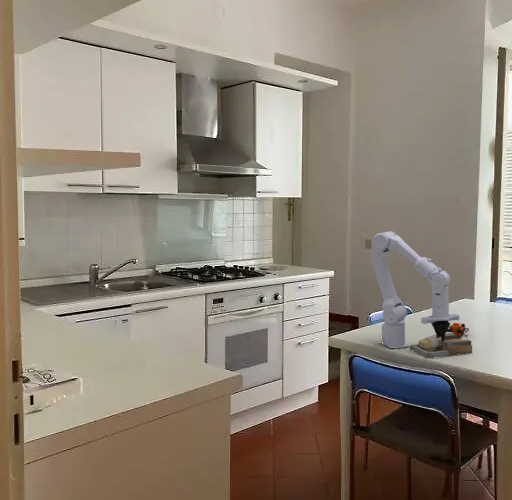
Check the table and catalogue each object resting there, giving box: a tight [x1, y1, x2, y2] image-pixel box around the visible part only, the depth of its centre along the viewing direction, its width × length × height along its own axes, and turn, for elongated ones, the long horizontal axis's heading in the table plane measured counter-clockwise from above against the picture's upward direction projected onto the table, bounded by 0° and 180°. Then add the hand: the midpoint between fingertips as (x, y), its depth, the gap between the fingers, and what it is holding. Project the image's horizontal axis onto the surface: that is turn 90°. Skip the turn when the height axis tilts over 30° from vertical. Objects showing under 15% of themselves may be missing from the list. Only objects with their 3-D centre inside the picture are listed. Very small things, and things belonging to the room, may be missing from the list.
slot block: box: [435, 333, 473, 356], centre depth 206 cm, size 12×10×4 cm
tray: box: [409, 343, 450, 359], centre depth 204 cm, size 12×8×2 cm
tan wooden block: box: [417, 337, 433, 352], centre depth 203 cm, size 4×4×3 cm
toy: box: [446, 322, 470, 337], centre depth 226 cm, size 8×6×15 cm
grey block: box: [425, 334, 443, 348], centre depth 204 cm, size 4×4×3 cm
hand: (440, 341), depth 205 cm, fingers closed
